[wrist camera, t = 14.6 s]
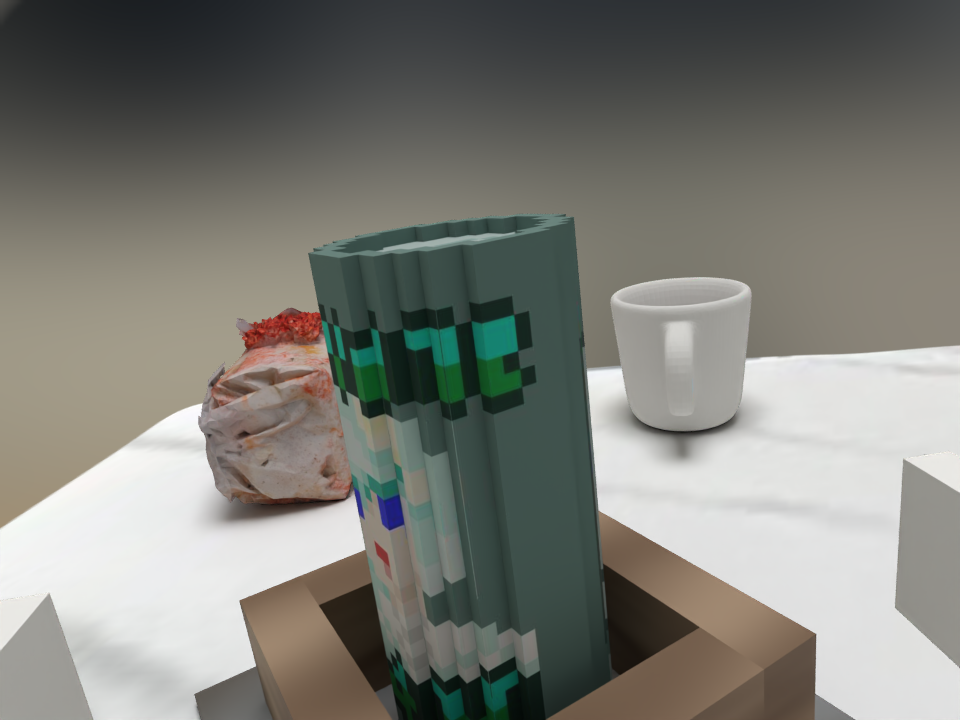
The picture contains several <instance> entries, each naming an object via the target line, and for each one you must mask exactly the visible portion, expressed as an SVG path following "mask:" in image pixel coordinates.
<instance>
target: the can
mask: <svg viewBox="0 0 960 720" xmlns="http://www.w3.org/2000/svg"><path fill="white" fill-rule="evenodd" d="M313 250H314V252H311V253H308V254H309V259H310V264H311V270H312V275H313V280H314V284H315V290H316V295H317V300H318V306H319V311H320V316H321V321H322V326H323V332H324V337H325V342H326V347H327V352H328V357H329V363H330V368H331V373H332V378H333V383H334V388H335V393H336V399H337V404H338V409H339V414H340V419H341V424H342V430H343V435H344V440H345V445H346V450H347V455H348V461H349V466H350V471H351V476H352V481H353V486H354V492H355V497H356V502H357V507H358V512H359V517H360V522H361V528H362V533H363V538H364V543H365V548H366V553H367V559H368V564H369V569H370V574H371V579H372V584H373V590H374V595H375V600H376V605H377V610H378V615H379V621H380V626H381V631H382V636H383V641H384V646H385V652H386V657H387V662H388V667H389V672H390V677H391V682H392V688H393V693H394V698H395V703H396V708H397V713H398V719H399V720H546V719H548V718H550V717H551V716H553V715H555V714H556V713H558V712H560V711H561V710H563V709H565V708H566V707H568V706H570V705H571V704H573V703H575V702H576V701H578V700H580V699H581V698H583V697H585V696H586V695H588V694H590V693H591V692H593V691H595V690H596V689H598V688H600V687H601V686H603V685H605V684H606V683H608V682H610V681H611V680H613V678H612V667H611V655H610V643H609V631H608V619H607V607H606V595H605V583H604V571H603V559H602V547H601V535H600V523H599V512H598V500H597V488H596V476H595V464H594V452H593V440H592V428H591V416H590V404H589V392H588V380H587V368H586V356H585V345H584V333H583V321H582V309H581V297H580V285H579V273H578V261H577V249H576V237H575V226H574V217H566V214H516V215H511V216H488V217H482V218H469V219H463V220H450V221H445V222H439V223H433V224H419V225H414V226H409V227H403V228H397V229H392V230H386V231H381V232H375V233H369V234H364V235H358V236H355V238H350V239H345V240H339V241H333V243H331V244H326V245H323V247H319V248H314V249H313Z"/></svg>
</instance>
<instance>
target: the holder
mask: <svg viewBox="0 0 960 720" xmlns="http://www.w3.org/2000/svg"><path fill="white" fill-rule="evenodd" d="M598 512H599V523H600V535H601V547H602V559H603V571H604V583H605V595H606V607H607V619H608V631H609V643H610V655H611V667H612V678H613V680H611V681H610V682H608V683H606V684H605V685H603V686H601V687H600V688H598V689H596V690H595V691H593V692H591V693H590V694H588V695H586V696H585V697H583V698H581V699H580V700H578V701H576V702H575V703H573V704H571V705H570V706H568V707H566V708H565V709H563V710H561V711H560V712H558V713H556V714H555V715H553V716H551V717H550V718H548V719H546V720H855V719H853V718H852V717H850V716H849V715H847V714H846V713H844V712H843V711H841V710H839V709H838V708H836V707H835V706H833V705H832V704H830V703H829V702H827V701H826V700H824V699H822V698H821V697H819V696H818V695H816V694H815V669H816V634H815V633H813V632H812V631H810V630H808V629H806V628H805V627H803V626H801V625H799V624H798V623H796V622H794V621H792V620H790V619H789V618H787V617H785V616H783V615H782V614H780V613H778V612H776V611H775V610H773V609H771V608H769V607H768V606H766V605H764V604H762V603H760V602H759V601H757V600H755V599H753V598H752V597H750V596H748V595H746V594H745V593H743V592H741V591H739V590H738V589H736V588H734V587H732V586H730V585H729V584H727V583H725V582H723V581H722V580H720V579H718V578H716V577H715V576H713V575H711V574H709V573H708V572H706V571H704V570H702V569H701V568H699V567H697V566H695V565H693V564H692V563H690V562H688V561H686V560H685V559H683V558H681V557H679V556H678V555H676V554H674V553H672V552H671V551H669V550H667V549H665V548H663V547H662V546H660V545H658V544H656V543H655V542H653V541H651V540H649V539H648V538H646V537H644V536H642V535H641V534H639V533H637V532H635V531H633V530H632V529H630V528H628V527H626V526H625V525H623V524H621V523H619V522H618V521H616V520H614V519H612V518H611V517H609V516H607V515H605V514H603V513H602V512H600V511H598ZM240 605H241V609H242V613H243V616H244V620H245V624H246V628H247V632H248V636H249V640H250V643H251V647H252V651H253V655H254V659H255V663H256V667H254V668H252V669H249V670H247V671H245V672H243V673H240V674H238V675H236V676H234V677H232V678H229V679H227V680H225V681H223V682H220V683H218V684H216V685H214V686H212V687H209V688H207V689H205V690H203V691H200V692H198V693H196V694H194V695H195V699H196V702H197V706H198V710H199V713H200V717H201V720H399V719H398V713H397V708H396V703H395V698H394V693H393V688H392V682H391V677H390V672H389V667H388V662H387V657H386V652H385V646H384V641H383V636H382V631H381V626H380V621H379V615H378V610H377V605H376V600H375V595H374V590H373V584H372V579H371V574H370V569H369V564H368V559H367V553H366V550H364V551H362V552H359V553H357V554H354V555H352V556H349V557H347V558H344V559H342V560H339V561H337V562H334V563H332V564H329V565H327V566H324V567H322V568H319V569H317V570H314V571H312V572H309V573H307V574H304V575H302V576H299V577H297V578H294V579H292V580H289V581H287V582H284V583H282V584H279V585H277V586H274V587H272V588H269V589H267V590H264V591H262V592H259V593H257V594H254V595H252V596H249V597H247V598H245V599H242V600H240Z"/></svg>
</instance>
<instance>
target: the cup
mask: <svg viewBox="0 0 960 720" xmlns="http://www.w3.org/2000/svg"><path fill="white" fill-rule="evenodd" d="M751 298H752V294H751V290H750V288H749V287H748V286H747V285H746V284H744V283H741V282H739V281H734V280H729V279H722V278H702V277H700V278H675V279H665V280H657V281H651V282H645V283H641V284H637V285H633V286H630V287H626V288H624V289H621V290H619V291H618V292H616V293H615V294H614V295H613V296H612V298H611V309H612V315H613V321H614V327H615V332H616V338H617V344H618V349H619V355H620V361H621V366H622V372H623V378H624V383H625V389H626V394H627V399H628V402H629V405H630V408H631V410H632V412H633V413H634V415H635V416H636V417H637V418H638V419H639V420H640V421H642V422H643V423H645V424H647V425H649V426H652V427H655V428H659V429H663V430H670V431H697V430H704V429H709V428H712V427H716V426H718V425H721V424H723V423H725V422H726V421H728V420H729V419H731V418H732V417H733V416H734V414H735V413H736V412H737V410H738V408H739V405H740V401H741V397H742V390H743V380H744V370H745V360H746V349H747V348H746V347H747V338H748V328H749V318H750V308H751Z"/></svg>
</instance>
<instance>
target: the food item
mask: <svg viewBox="0 0 960 720" xmlns="http://www.w3.org/2000/svg"><path fill="white" fill-rule="evenodd" d="M239 320H241V322H240V321H239ZM236 326H237V328H238V329H239V330H240V333H239V334H240V335H242V336H244V337H242V339H243V340H244V341H245V347H246V348H247V349H246V350H245V352H244V353H243V354H242V356H241V357H240V358H239V359H238V360H237V361H236V362H235V363H234V364H233V365H232V366H231V367H230V368H229V369H228V370H227V371H226V372H225V370H224V365H225V363H223V364H222V365H221V366H220V367H219V368H218V370H216V372H214V374H213V375H212V376H211V378H210V379H209V380H208V389H207V394H206V396H205V399H204V402H203V405H202V412H201V417H200V416H199V419H198V424H199V427H200V429H201V431H202V432H203V433H204V435H205V438H206V453H207V459H208V462H209V465H210V467H211V469H212V471H213V475H214V479H215V486H216V488H217V489H218V490H219V491H220V492H221V493H222V494H223V495H224V496H225V497H227V498H228V500H229V501H230V503H231V502H232V501H233V499H234V498H235V497H237V498H238V499H239V500H240V501H241V502H243V503H244V504H250V503H261V504H270V505H272V504H289V503H307V502H318V501H328V500H337V499H344V498H346V496H347V495H348V492H349V490H350V485H351V482H352V476H351V471H350V466H349V461H348V455H347V450H346V445H345V440H344V435H343V430H342V424H341V419H340V414H339V409H338V404H337V399H336V393H335V388H334V383H333V378H332V373H331V368H330V363H329V357H328V352H327V347H326V342H325V337H324V332H323V326H322V321H321V316H320V313H317V312H315V313H312V314H311V313H309V312H308V313H306V312H300V311H298V310H296V309H294V308H289V309H286V310H284V311H283V312H282V313H280V314H279V315H278V316H276V317H275V318H273V320H272V319H271V318H269V319H268V320H264V319H262V323H259V324H257V322H254V324H249V323H247V322H246V321H245V320H243V319H239V318H237V324H236ZM243 332H244V333H243ZM221 375H223V376H222V377H221V378H220V376H221Z"/></svg>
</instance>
